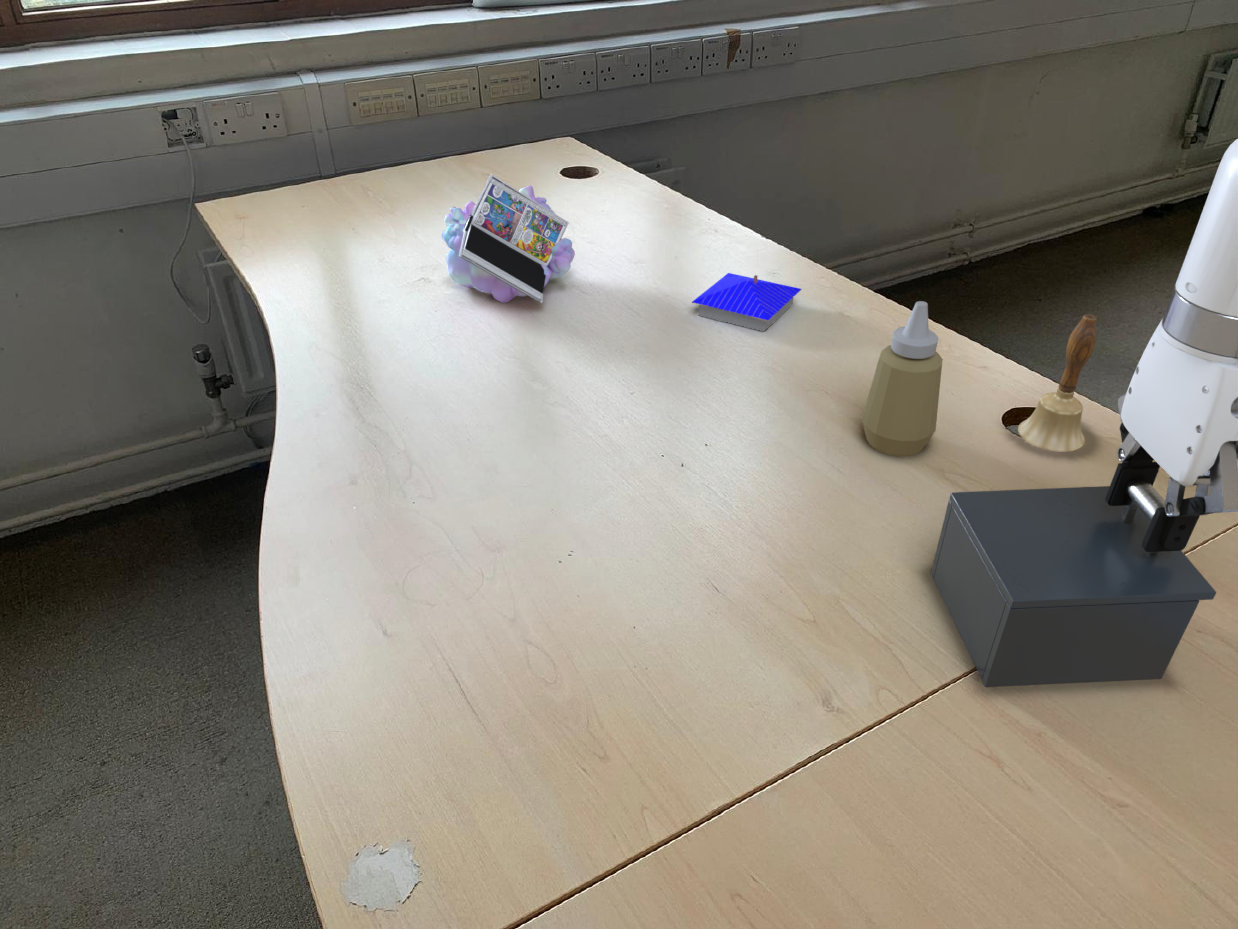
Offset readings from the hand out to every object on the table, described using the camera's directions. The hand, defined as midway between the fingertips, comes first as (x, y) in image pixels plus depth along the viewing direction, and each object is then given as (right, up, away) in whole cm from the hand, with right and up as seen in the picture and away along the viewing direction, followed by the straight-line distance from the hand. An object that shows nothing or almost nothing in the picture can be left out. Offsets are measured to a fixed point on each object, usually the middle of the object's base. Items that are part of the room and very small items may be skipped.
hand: (1143, 523), depth 72 cm
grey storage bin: (-6, -10, +7) cm, 13 cm away
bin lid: (-5, -2, +1) cm, 6 cm away
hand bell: (+7, +7, +31) cm, 32 cm away
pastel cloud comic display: (-59, +33, +69) cm, 97 cm away
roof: (-24, +27, +60) cm, 70 cm away
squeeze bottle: (-11, +7, +30) cm, 33 cm away
